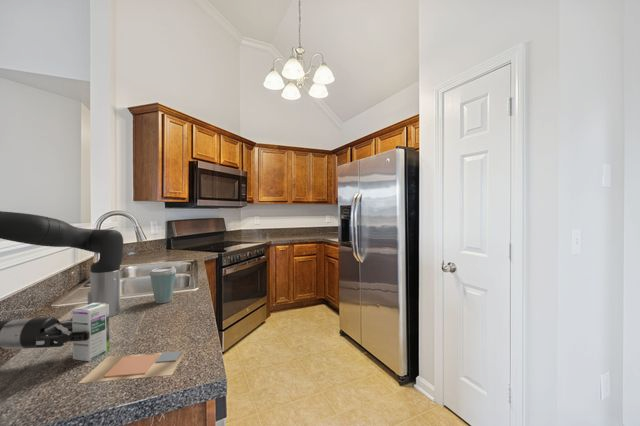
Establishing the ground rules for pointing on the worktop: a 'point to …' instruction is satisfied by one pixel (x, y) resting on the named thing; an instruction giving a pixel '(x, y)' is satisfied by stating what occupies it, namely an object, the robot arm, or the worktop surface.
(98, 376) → the oak board
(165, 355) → the slate tile
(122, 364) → the terracotta pad
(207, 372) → the worktop surface
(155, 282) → the disposable coffee cup
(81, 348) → the syrup box
